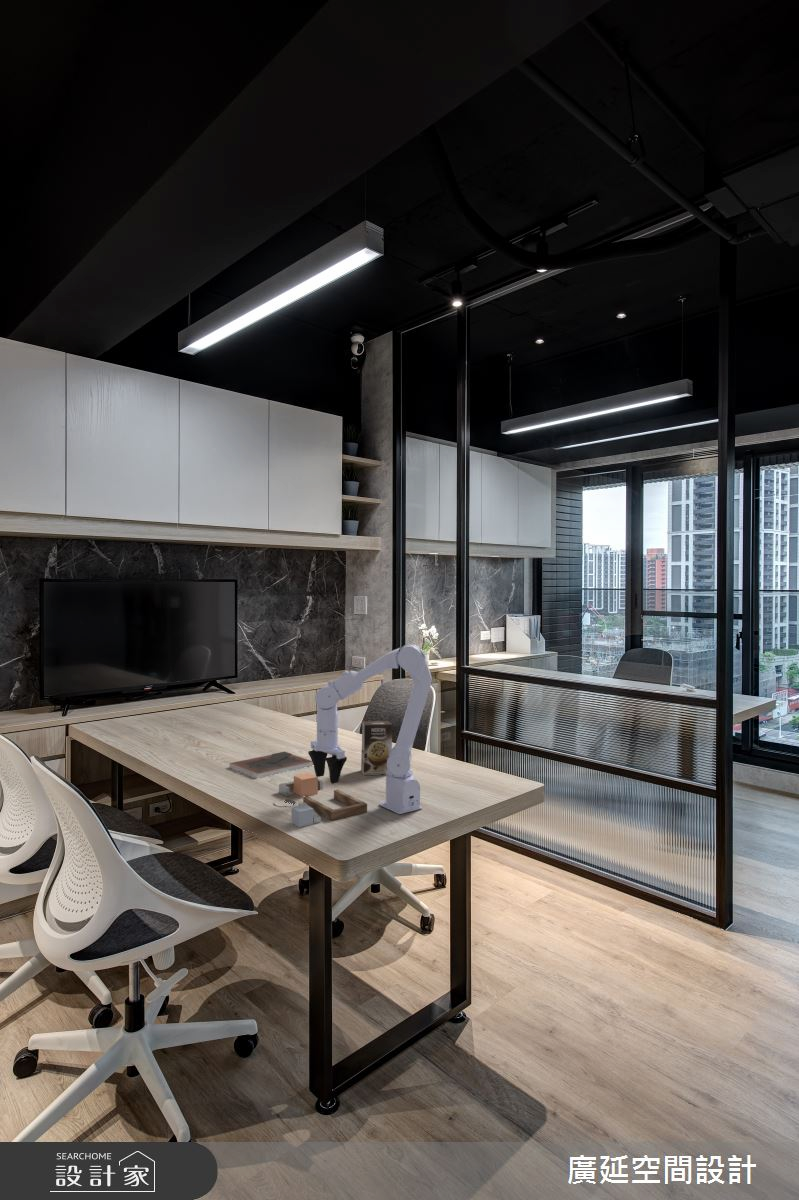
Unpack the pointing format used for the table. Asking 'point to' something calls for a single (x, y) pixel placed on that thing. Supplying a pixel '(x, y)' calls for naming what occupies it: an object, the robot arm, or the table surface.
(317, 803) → the bay
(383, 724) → the coffee box
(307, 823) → the slate block
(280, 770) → the picture frame
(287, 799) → the hole disc
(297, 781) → the cube
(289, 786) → the rail
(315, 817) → the steel bar
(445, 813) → the table surface
